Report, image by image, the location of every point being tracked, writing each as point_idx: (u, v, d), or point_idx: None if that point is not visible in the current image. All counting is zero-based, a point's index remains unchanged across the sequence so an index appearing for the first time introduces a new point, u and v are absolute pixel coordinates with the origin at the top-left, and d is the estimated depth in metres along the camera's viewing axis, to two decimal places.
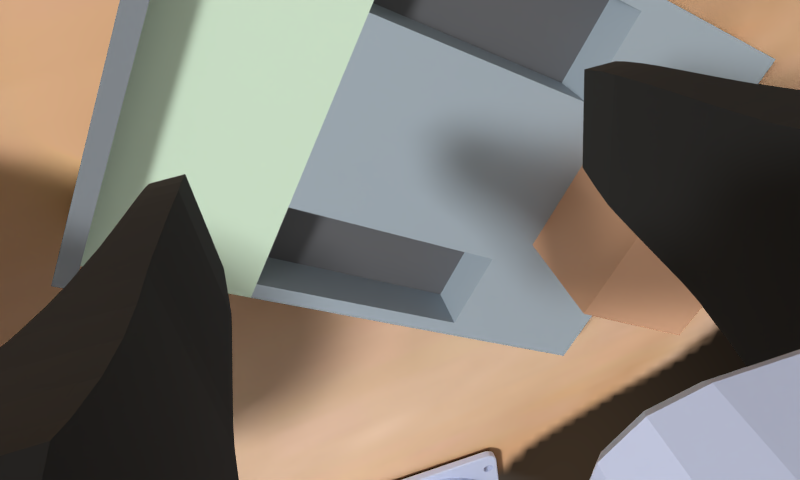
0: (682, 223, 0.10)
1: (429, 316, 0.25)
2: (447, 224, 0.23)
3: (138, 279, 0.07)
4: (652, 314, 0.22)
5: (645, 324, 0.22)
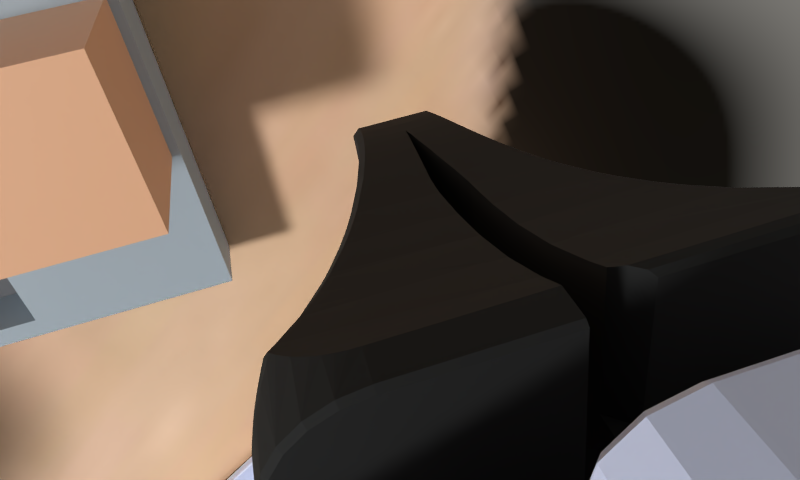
0: None
1: None
2: None
3: (435, 196, 0.08)
4: (79, 236, 0.15)
5: (89, 250, 0.15)
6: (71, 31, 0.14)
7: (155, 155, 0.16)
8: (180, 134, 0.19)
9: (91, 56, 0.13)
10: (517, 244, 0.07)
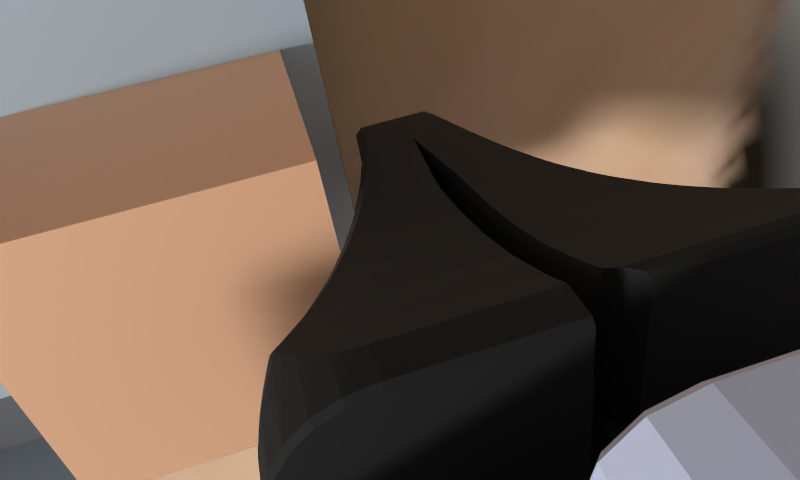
0: None
1: None
2: None
3: (438, 195, 0.08)
4: (257, 419, 0.10)
5: None
6: (267, 119, 0.09)
7: None
8: None
9: None
10: (513, 246, 0.07)
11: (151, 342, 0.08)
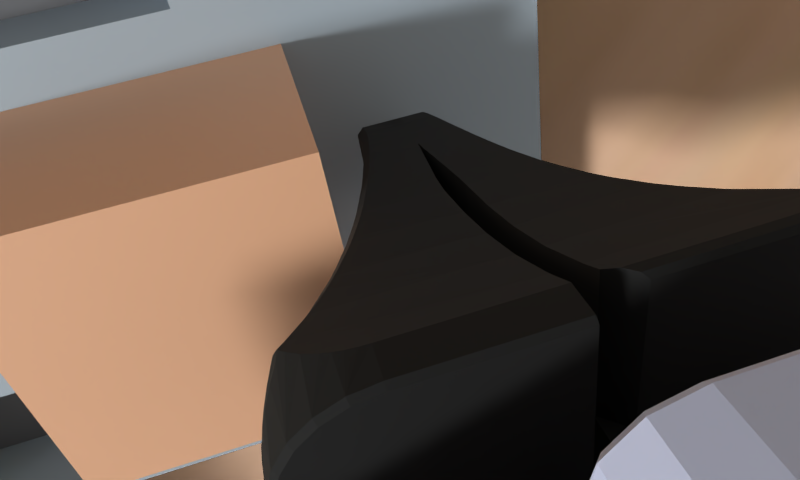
0: None
1: None
2: None
3: (440, 194, 0.08)
4: (259, 414, 0.10)
5: None
6: (269, 112, 0.09)
7: None
8: None
9: None
10: (511, 246, 0.07)
11: (154, 335, 0.08)
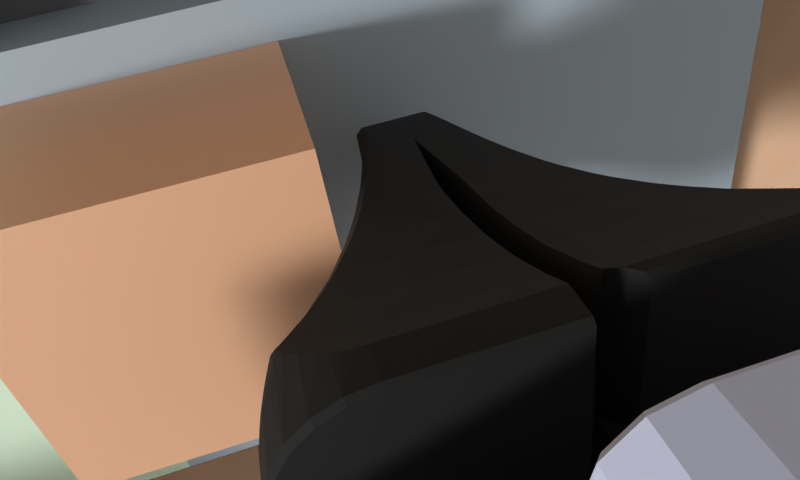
0: None
1: None
2: None
3: (439, 195, 0.08)
4: (255, 413, 0.10)
5: None
6: (265, 108, 0.09)
7: None
8: None
9: None
10: (513, 245, 0.07)
11: (148, 333, 0.08)
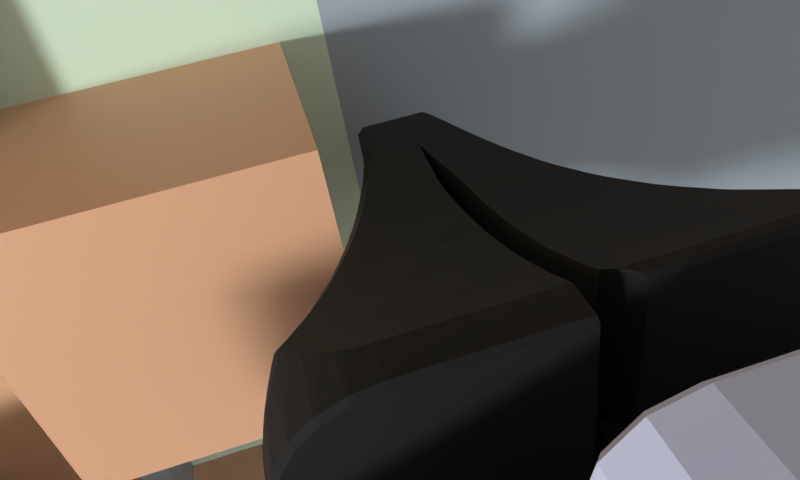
0: None
1: None
2: None
3: (441, 195, 0.08)
4: (258, 413, 0.10)
5: None
6: (268, 110, 0.09)
7: None
8: None
9: None
10: (510, 246, 0.07)
11: (152, 335, 0.08)
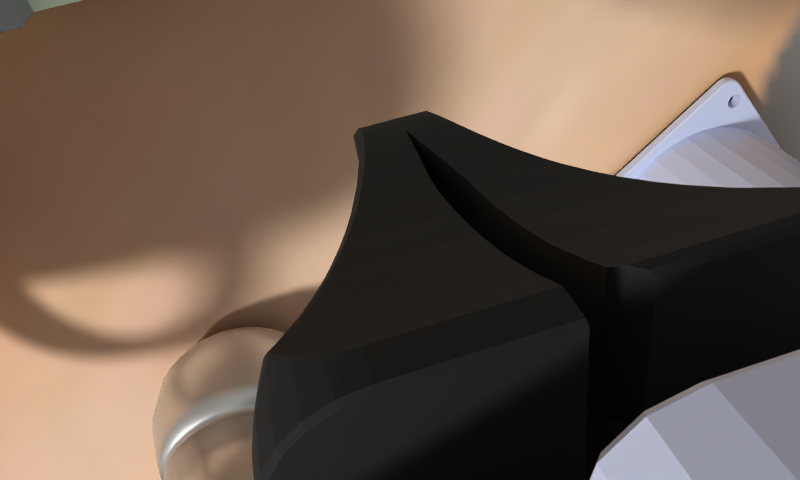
0: None
1: None
2: None
3: (435, 196, 0.08)
4: None
5: None
6: None
7: None
8: None
9: None
10: (517, 244, 0.07)
11: None
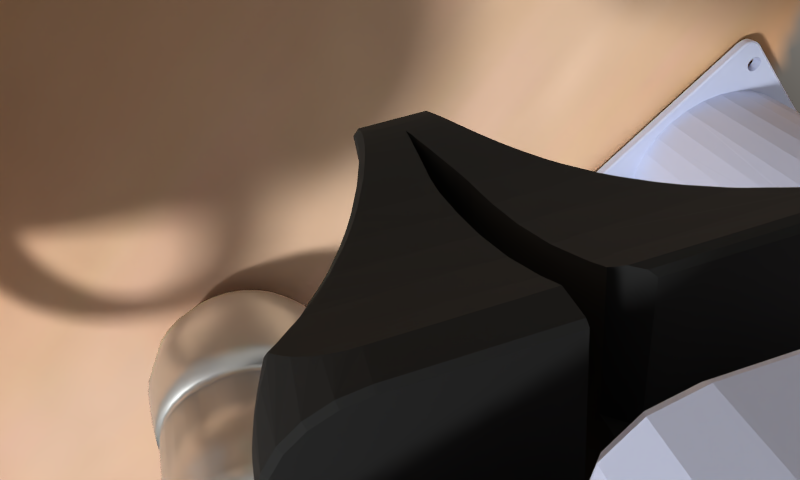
0: None
1: None
2: None
3: (435, 196, 0.08)
4: None
5: None
6: None
7: None
8: None
9: None
10: (517, 244, 0.07)
11: None
